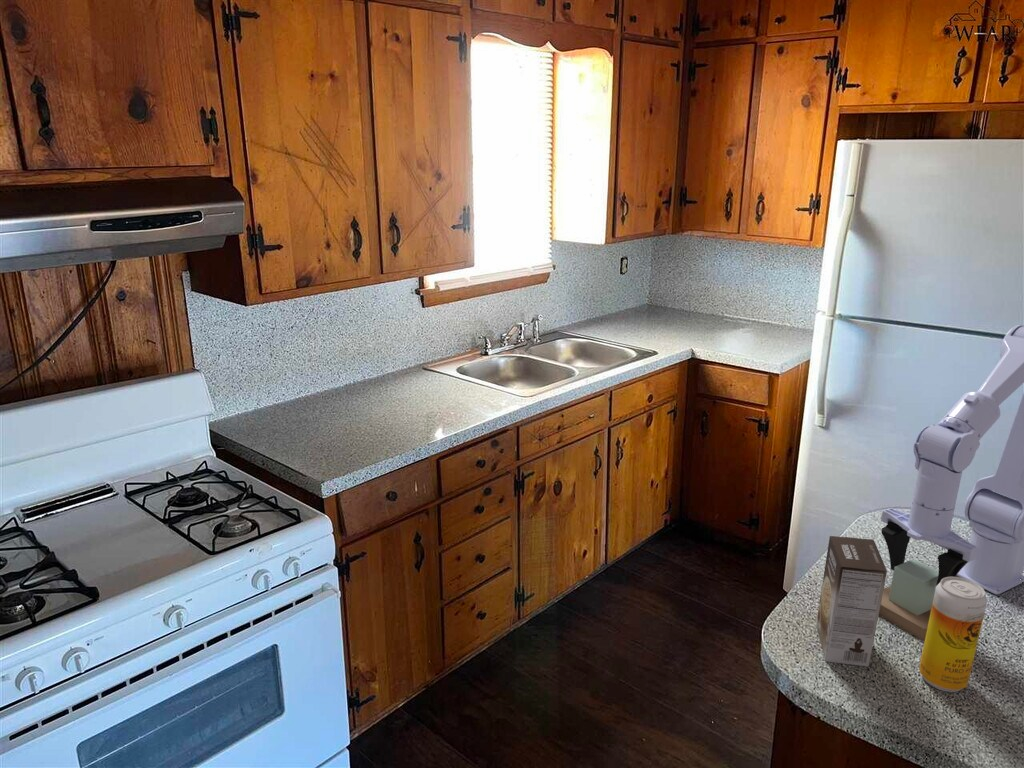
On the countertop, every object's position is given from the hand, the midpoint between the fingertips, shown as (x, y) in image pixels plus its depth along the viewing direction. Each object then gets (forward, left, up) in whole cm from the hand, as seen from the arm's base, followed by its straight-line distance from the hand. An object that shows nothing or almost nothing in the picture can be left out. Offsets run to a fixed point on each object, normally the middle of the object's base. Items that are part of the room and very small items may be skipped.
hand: (918, 579), depth 122 cm
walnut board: (0, 0, -7) cm, 7 cm away
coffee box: (+17, 0, -6) cm, 18 cm away
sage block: (0, 0, -4) cm, 4 cm away
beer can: (+11, +12, -6) cm, 17 cm away
